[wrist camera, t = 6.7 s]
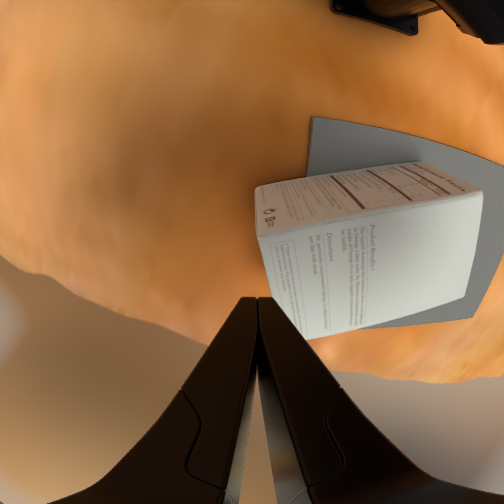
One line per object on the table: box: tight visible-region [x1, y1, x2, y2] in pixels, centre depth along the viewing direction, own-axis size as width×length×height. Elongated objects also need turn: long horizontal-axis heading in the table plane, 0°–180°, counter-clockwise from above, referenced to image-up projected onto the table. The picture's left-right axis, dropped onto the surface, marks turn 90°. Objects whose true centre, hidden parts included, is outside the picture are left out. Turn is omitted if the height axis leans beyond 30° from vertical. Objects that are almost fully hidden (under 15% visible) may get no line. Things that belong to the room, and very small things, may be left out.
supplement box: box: [255, 161, 483, 340], centre depth 16 cm, size 7×7×13 cm
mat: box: [306, 117, 504, 330], centre depth 21 cm, size 24×18×1 cm
